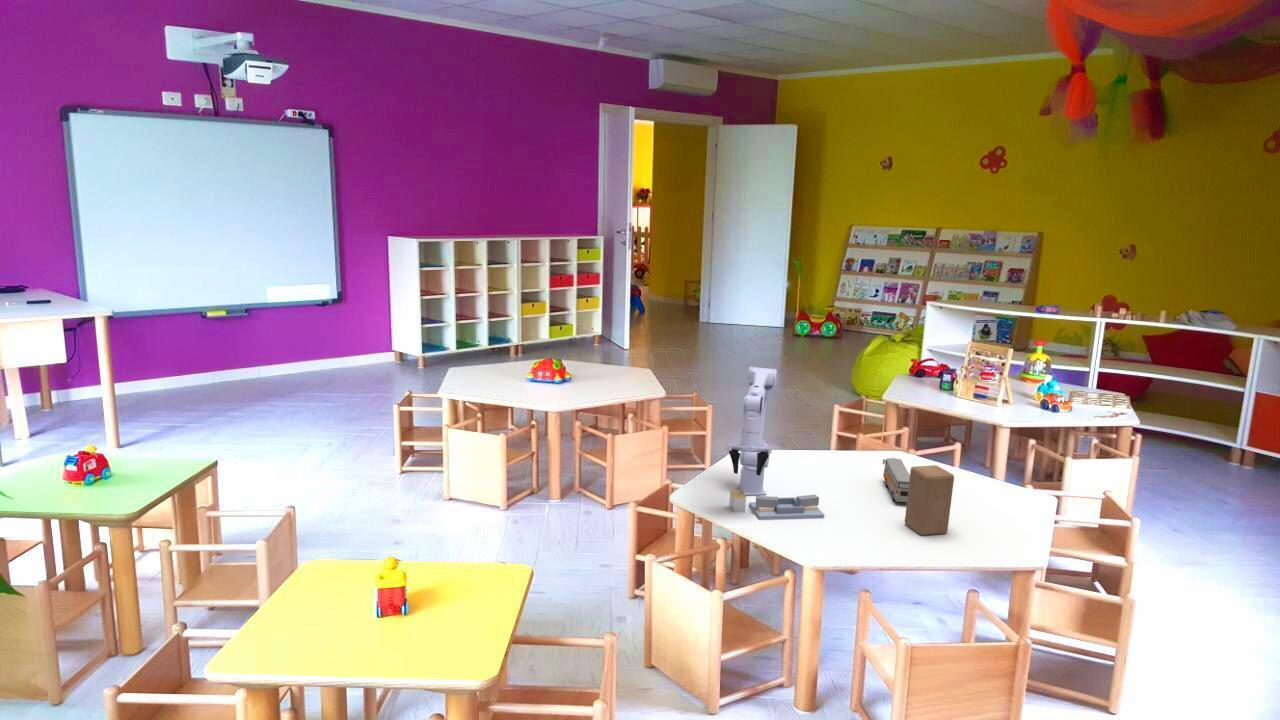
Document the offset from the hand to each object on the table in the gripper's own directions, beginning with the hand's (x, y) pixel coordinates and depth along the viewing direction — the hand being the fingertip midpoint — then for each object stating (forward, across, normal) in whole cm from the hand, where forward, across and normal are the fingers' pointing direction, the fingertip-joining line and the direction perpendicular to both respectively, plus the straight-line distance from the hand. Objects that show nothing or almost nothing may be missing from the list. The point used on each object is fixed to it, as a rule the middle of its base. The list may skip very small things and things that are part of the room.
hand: (746, 474), depth 274 cm
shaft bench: (+12, +16, +5) cm, 21 cm away
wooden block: (+12, +57, -13) cm, 60 cm away
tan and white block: (+13, 0, +8) cm, 15 cm away
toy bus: (+5, +62, +18) cm, 65 cm away
